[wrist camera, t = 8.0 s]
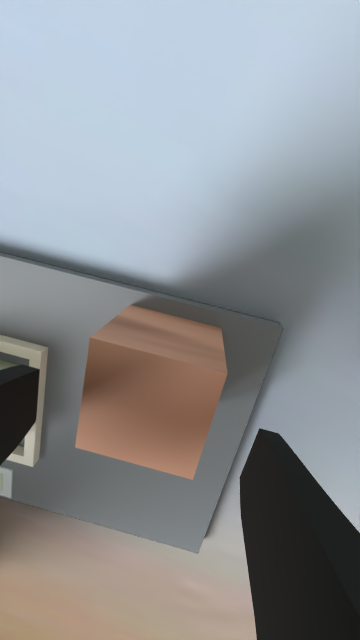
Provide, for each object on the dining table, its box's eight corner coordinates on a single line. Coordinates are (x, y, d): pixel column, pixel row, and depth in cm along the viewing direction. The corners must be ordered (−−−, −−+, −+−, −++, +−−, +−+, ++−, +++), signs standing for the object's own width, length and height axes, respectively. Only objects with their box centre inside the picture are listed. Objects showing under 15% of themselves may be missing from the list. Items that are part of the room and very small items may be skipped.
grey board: (198, 540, 18) (197, 564, 16) (-77, 461, 18) (-100, 478, 17) (278, 322, 13) (287, 332, 12) (-100, 227, 14) (-133, 225, 12)
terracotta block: (197, 406, 14) (192, 479, 10) (116, 384, 14) (75, 447, 10) (221, 327, 12) (227, 373, 8) (130, 304, 13) (89, 337, 8)
